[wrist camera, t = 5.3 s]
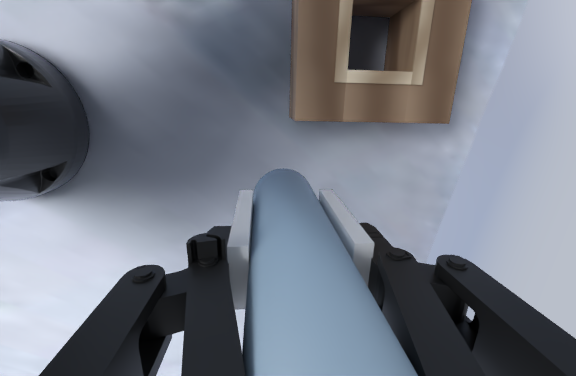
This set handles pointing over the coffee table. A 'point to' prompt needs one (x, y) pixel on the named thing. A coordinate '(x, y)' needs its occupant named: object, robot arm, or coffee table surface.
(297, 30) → the socket block
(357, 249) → the robot arm
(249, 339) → the peg
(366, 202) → the coffee table surface
